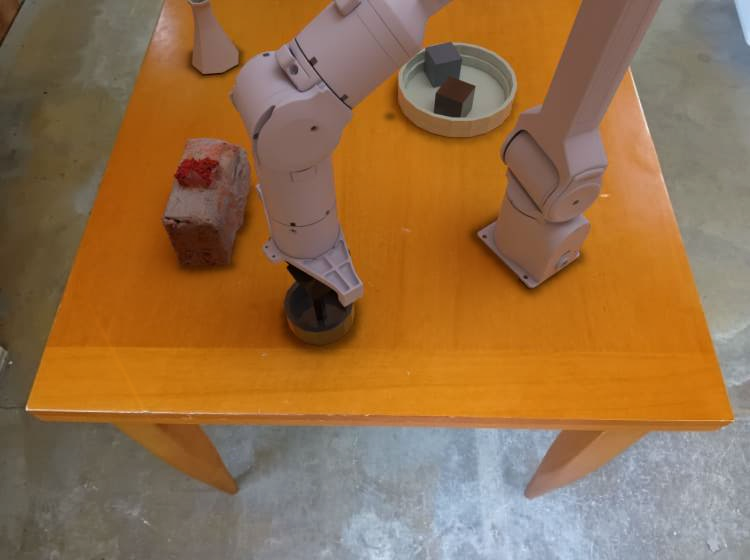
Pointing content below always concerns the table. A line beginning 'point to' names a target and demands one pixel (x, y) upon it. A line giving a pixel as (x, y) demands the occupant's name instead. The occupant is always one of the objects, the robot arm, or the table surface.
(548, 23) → the table surface
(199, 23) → the flask
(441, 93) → the walnut block
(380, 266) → the table surface
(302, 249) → the robot arm
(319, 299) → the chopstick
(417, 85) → the bowl
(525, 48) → the table surface
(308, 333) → the holder
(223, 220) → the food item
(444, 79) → the slate block
